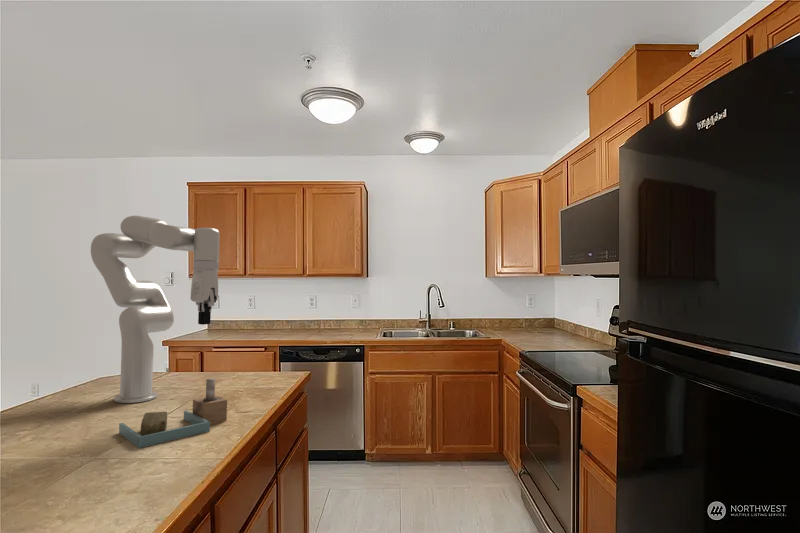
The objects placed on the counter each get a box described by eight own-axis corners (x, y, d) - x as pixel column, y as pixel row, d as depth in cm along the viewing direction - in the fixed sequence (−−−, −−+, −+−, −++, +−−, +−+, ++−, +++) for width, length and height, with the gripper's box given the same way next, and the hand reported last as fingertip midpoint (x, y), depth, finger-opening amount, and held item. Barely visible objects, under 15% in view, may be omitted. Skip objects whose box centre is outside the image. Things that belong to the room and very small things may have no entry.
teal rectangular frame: (119, 433, 120) (119, 423, 120) (186, 418, 133) (186, 410, 133) (139, 447, 110) (139, 437, 110) (209, 431, 123) (210, 421, 123)
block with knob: (192, 420, 132) (193, 379, 132) (215, 415, 137) (216, 375, 138) (202, 425, 127) (204, 382, 128) (226, 420, 133) (227, 379, 133)
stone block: (139, 443, 113) (140, 423, 114) (143, 430, 124) (143, 411, 124) (165, 440, 116) (166, 420, 116) (166, 427, 126) (167, 409, 126)
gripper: (184, 266, 146) (182, 323, 146) (204, 266, 136) (203, 326, 136) (207, 267, 152) (205, 321, 151) (228, 266, 142) (226, 325, 141)
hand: (204, 324), depth 143 cm, fingers closed
